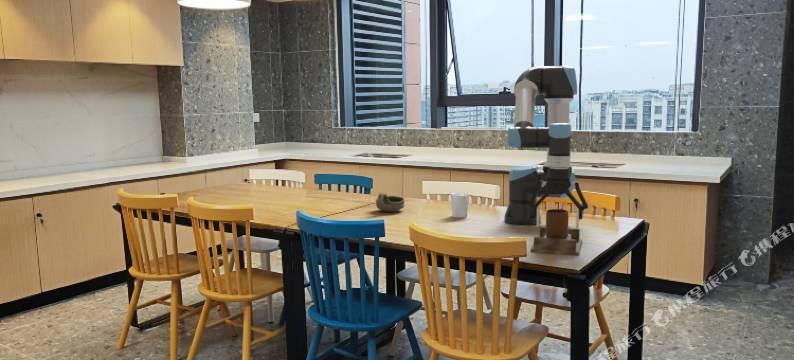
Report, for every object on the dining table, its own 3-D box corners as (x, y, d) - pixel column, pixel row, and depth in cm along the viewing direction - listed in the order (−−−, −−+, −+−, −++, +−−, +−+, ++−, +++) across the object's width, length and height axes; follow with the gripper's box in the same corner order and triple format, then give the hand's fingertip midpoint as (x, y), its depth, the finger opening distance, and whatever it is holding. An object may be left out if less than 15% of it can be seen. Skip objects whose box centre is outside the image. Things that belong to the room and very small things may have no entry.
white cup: (448, 217, 278) (448, 195, 277) (453, 214, 286) (453, 192, 284) (465, 218, 275) (465, 196, 274) (470, 215, 283) (470, 193, 281)
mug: (551, 231, 231) (552, 206, 230) (572, 233, 228) (573, 207, 227) (543, 238, 221) (543, 212, 220) (565, 240, 217) (565, 213, 216)
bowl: (410, 209, 297) (410, 188, 296) (392, 216, 282) (392, 194, 280) (384, 207, 303) (384, 187, 302) (366, 214, 288) (365, 192, 287)
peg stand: (530, 251, 219) (531, 237, 218) (537, 239, 237) (537, 226, 236) (578, 255, 214) (579, 240, 213) (582, 242, 231) (582, 228, 231)
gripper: (521, 167, 222) (520, 227, 225) (596, 170, 213) (593, 231, 216) (524, 165, 229) (523, 222, 232) (596, 167, 220) (594, 226, 223)
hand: (557, 227), depth 224 cm, fingers open, 13 cm apart
